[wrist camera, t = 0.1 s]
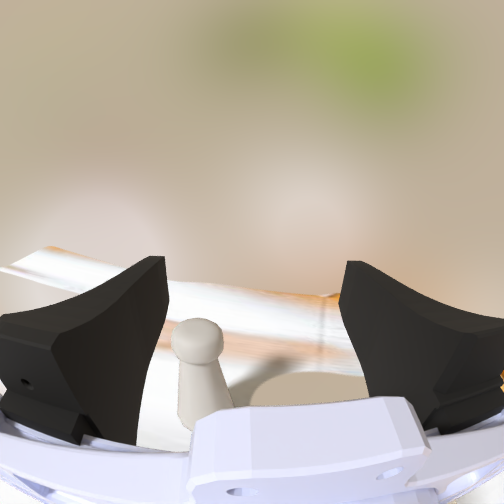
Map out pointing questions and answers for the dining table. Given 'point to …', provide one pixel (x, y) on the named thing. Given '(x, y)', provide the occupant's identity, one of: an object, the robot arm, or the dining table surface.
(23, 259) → the dining table surface
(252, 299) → the dining table surface
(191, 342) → the salt shaker
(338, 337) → the dining table surface
